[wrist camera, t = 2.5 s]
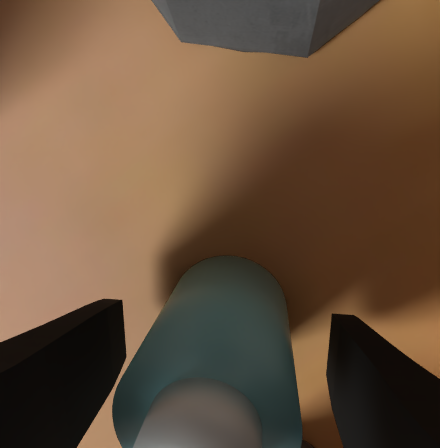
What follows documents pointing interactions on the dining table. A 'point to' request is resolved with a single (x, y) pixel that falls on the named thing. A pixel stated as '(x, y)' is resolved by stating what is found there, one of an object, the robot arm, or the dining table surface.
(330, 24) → the coffeepot
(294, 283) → the dining table surface
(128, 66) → the dining table surface
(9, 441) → the robot arm
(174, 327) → the teal rounded piece
